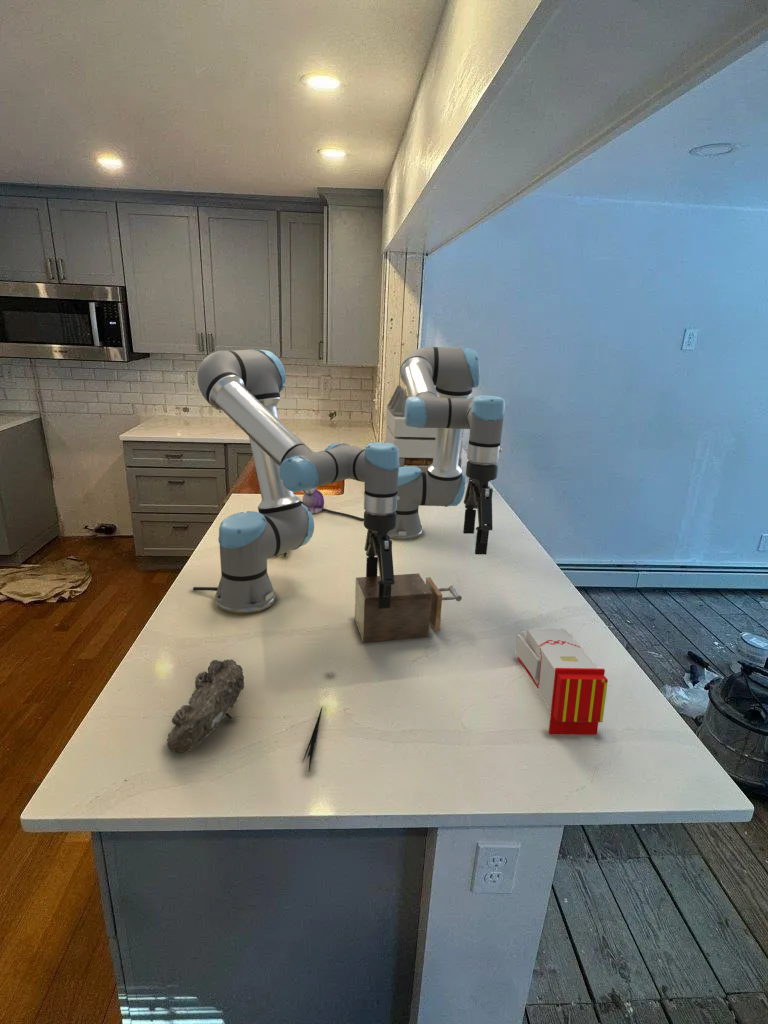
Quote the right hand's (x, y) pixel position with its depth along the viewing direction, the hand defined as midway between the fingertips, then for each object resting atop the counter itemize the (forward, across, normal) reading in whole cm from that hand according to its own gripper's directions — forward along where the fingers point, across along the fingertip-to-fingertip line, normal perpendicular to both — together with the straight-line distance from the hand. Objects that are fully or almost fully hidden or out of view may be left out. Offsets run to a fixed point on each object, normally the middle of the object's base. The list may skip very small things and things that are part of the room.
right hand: (474, 543), depth 144 cm
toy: (+20, -33, -11) cm, 40 cm away
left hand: (+10, -9, +25) cm, 28 cm away
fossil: (+20, -40, +58) cm, 73 cm away
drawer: (+19, -7, +14) cm, 25 cm away
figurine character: (+19, +39, +52) cm, 68 cm away
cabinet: (+20, -8, +21) cm, 30 cm away
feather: (+20, -41, +38) cm, 59 cm away
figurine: (+19, +77, +44) cm, 91 cm away
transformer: (+19, +133, -5) cm, 134 cm away
